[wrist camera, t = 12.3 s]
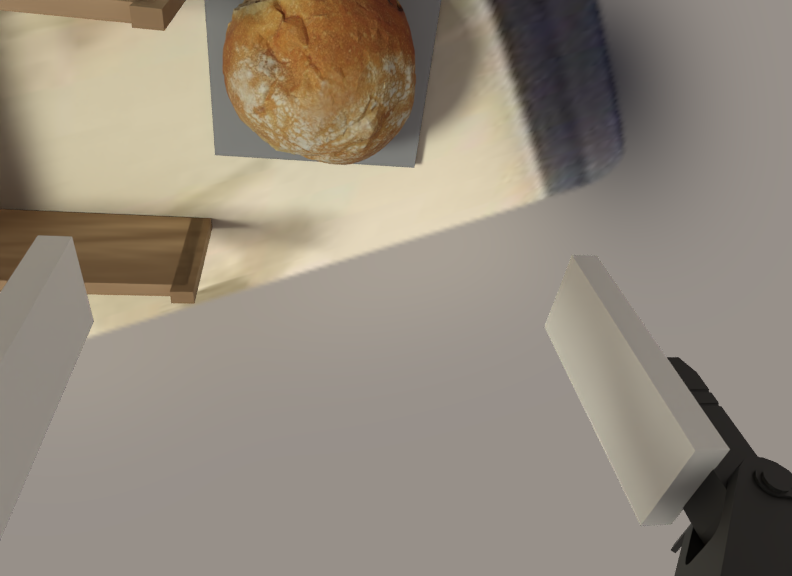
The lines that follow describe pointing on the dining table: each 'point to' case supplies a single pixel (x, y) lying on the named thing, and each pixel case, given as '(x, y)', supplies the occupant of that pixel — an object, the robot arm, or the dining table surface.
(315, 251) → the dining table surface
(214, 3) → the slate board
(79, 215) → the box
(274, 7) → the bread roll
